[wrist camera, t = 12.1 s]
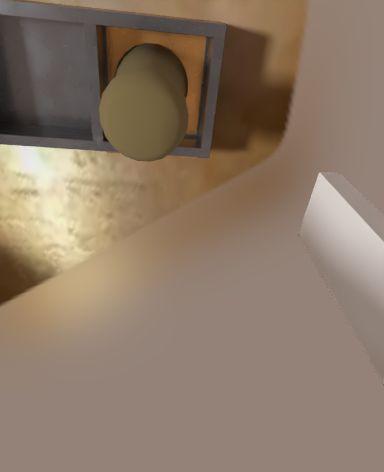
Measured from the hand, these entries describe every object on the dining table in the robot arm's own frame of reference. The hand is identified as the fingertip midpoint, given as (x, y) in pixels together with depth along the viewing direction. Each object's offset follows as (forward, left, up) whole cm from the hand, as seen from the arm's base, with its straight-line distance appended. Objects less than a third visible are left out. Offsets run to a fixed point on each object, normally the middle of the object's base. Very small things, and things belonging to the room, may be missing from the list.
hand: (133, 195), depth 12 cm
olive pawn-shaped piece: (0, 0, -19) cm, 19 cm away
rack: (-4, +7, -20) cm, 22 cm away
